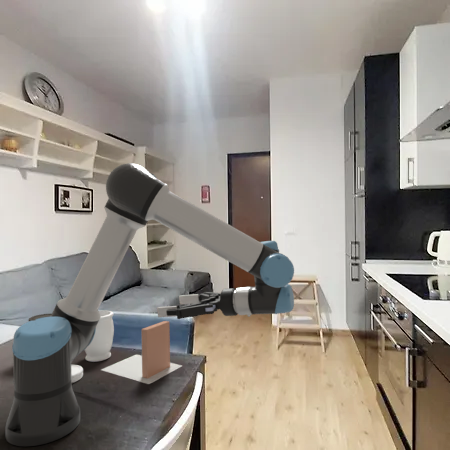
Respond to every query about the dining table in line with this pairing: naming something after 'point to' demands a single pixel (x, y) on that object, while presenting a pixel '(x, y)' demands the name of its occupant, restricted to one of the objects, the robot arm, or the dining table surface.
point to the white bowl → (76, 373)
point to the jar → (101, 338)
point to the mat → (137, 369)
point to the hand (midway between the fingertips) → (169, 305)
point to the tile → (155, 348)
